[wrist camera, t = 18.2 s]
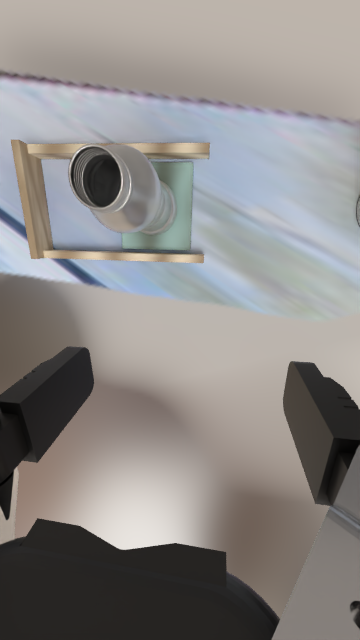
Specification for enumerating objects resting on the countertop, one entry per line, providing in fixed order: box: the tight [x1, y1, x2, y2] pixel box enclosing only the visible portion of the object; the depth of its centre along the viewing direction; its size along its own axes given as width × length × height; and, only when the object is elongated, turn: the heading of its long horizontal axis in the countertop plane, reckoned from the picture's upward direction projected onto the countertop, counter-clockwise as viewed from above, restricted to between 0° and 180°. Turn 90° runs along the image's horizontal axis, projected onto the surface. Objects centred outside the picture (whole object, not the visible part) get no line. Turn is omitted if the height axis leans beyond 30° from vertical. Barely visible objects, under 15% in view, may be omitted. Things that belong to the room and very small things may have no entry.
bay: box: [11, 140, 210, 263], centre depth 33 cm, size 24×14×4 cm, turn 89°
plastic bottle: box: [68, 144, 177, 236], centre depth 25 cm, size 6×7×20 cm
